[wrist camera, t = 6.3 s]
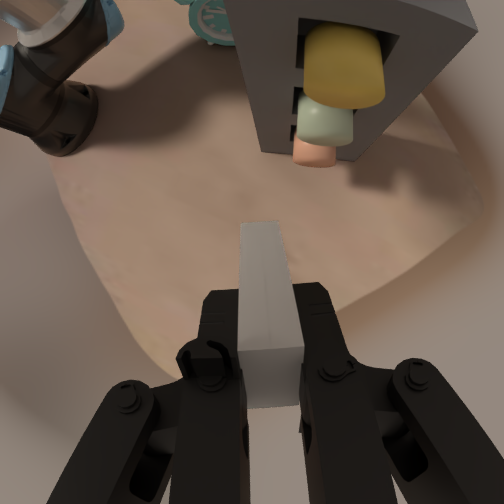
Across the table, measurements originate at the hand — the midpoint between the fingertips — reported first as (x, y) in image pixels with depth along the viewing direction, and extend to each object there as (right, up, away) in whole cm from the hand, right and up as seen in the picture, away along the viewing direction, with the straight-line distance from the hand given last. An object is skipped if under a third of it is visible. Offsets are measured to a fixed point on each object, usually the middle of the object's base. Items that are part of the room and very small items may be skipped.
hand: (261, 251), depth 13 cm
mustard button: (+6, +12, +5) cm, 14 cm away
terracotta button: (+7, +12, +23) cm, 27 cm away
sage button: (+6, +12, +14) cm, 20 cm away
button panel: (+8, +18, +29) cm, 35 cm away
